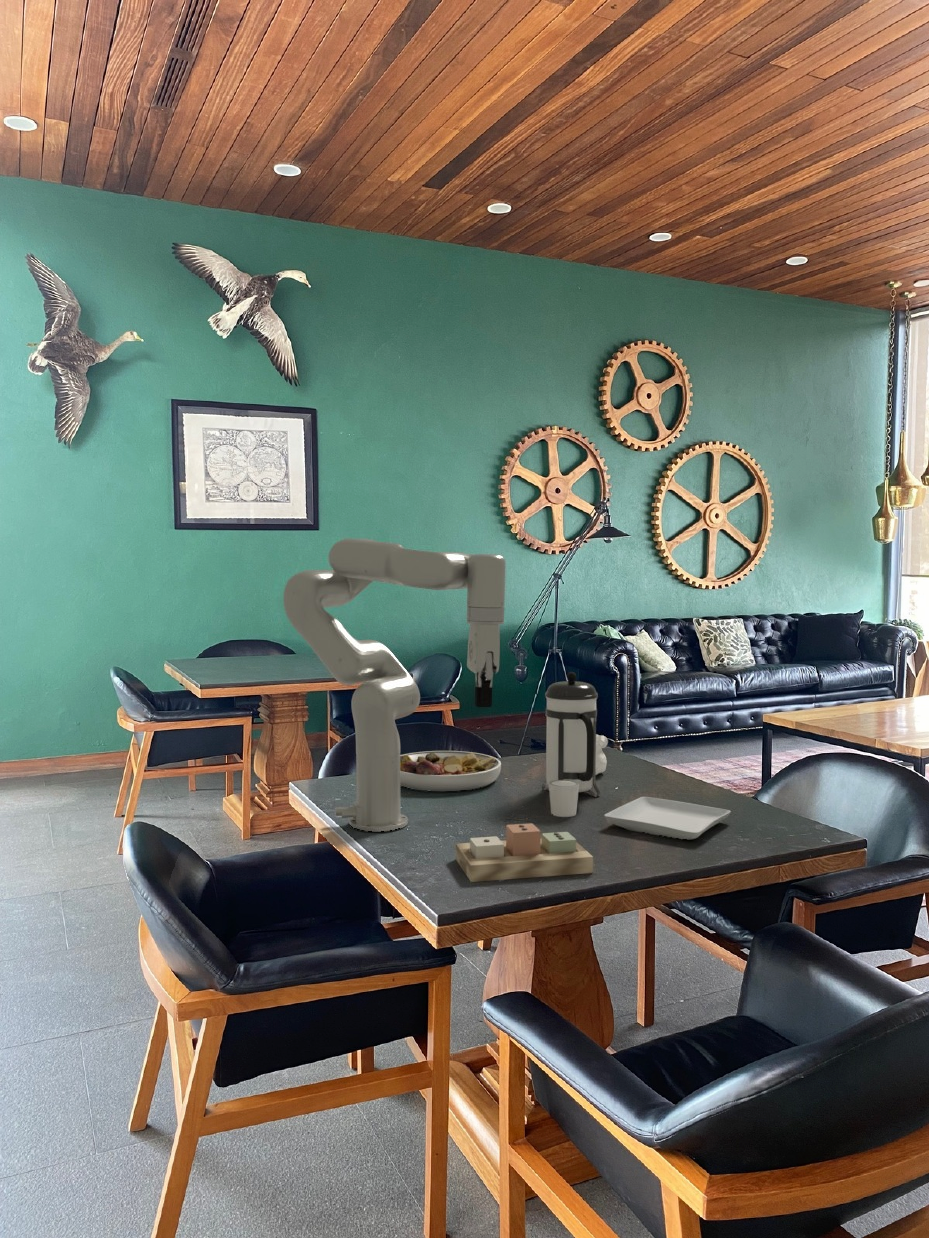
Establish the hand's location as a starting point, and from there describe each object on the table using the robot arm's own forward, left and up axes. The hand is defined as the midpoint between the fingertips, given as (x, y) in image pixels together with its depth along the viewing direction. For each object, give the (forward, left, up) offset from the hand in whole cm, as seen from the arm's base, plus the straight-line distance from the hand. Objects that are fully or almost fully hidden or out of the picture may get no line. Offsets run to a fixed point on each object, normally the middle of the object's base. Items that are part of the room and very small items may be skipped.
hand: (483, 706), depth 188 cm
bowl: (+2, +54, -28) cm, 61 cm away
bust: (+44, +54, -28) cm, 75 cm away
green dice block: (+11, -17, -28) cm, 34 cm away
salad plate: (+42, +3, -28) cm, 51 cm away
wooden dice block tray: (+4, -17, -28) cm, 32 cm away
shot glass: (+23, +16, -28) cm, 40 cm away
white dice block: (-3, -17, -28) cm, 32 cm away
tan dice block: (+4, -17, -26) cm, 31 cm away
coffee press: (+31, +32, -28) cm, 53 cm away
